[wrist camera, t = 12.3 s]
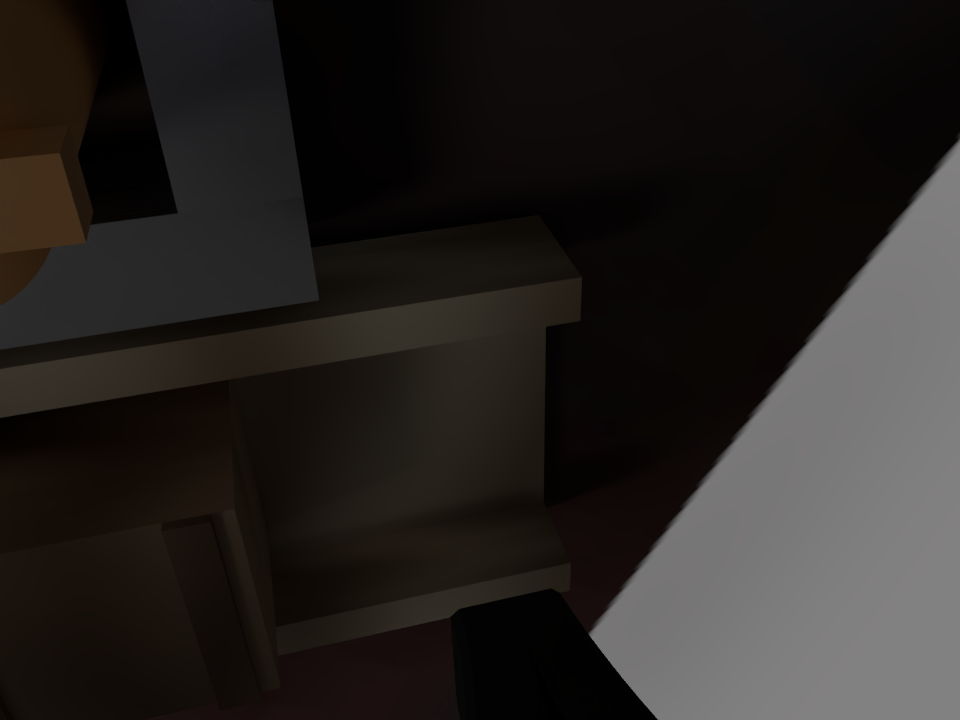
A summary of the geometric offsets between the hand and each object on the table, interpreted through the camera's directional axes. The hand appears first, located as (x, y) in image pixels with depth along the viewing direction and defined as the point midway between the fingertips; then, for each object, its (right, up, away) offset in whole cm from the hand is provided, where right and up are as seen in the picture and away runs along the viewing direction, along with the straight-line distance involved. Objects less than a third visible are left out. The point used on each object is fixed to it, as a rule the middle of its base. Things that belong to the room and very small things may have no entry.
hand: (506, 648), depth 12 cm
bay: (-6, +2, +9) cm, 11 cm away
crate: (-8, +1, +8) cm, 12 cm away
